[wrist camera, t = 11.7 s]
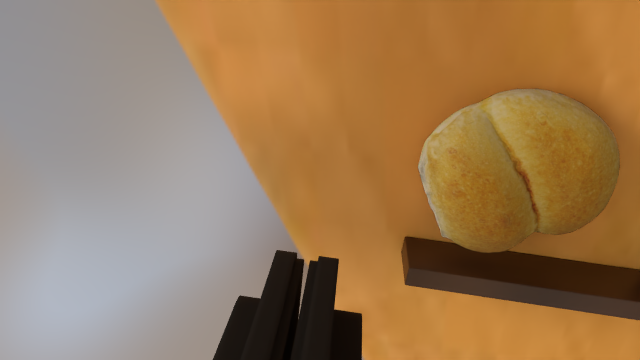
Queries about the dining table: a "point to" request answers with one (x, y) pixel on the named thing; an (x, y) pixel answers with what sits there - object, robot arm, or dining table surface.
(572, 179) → the bread roll
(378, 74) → the dining table surface
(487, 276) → the corner guide
